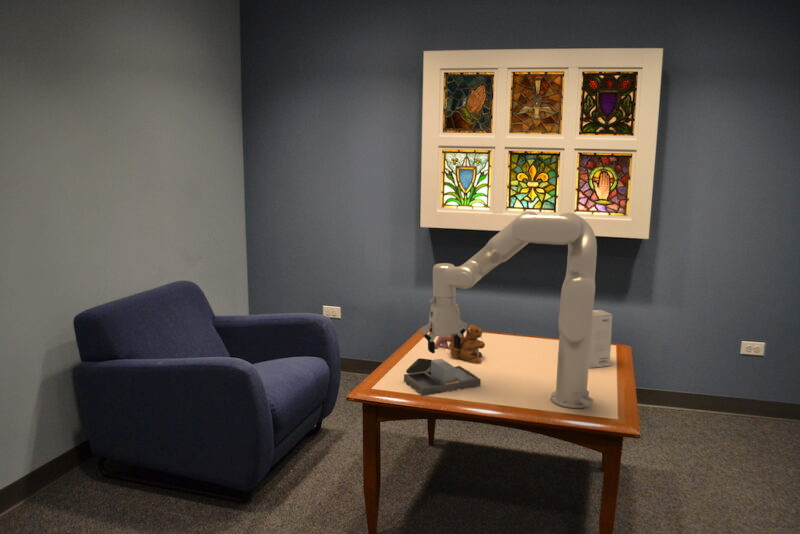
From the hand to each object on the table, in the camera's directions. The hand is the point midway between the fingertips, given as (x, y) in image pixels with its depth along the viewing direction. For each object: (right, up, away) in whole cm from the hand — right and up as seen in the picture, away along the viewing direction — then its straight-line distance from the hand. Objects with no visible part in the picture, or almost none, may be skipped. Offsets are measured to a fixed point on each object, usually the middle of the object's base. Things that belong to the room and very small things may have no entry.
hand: (444, 350), depth 208 cm
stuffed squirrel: (+10, -7, +29) cm, 32 cm away
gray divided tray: (-1, -12, +2) cm, 12 cm away
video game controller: (+4, -5, +40) cm, 40 cm away
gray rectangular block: (0, -11, +2) cm, 11 cm away
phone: (-7, -9, +18) cm, 21 cm away
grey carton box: (+55, -9, +23) cm, 60 cm away
